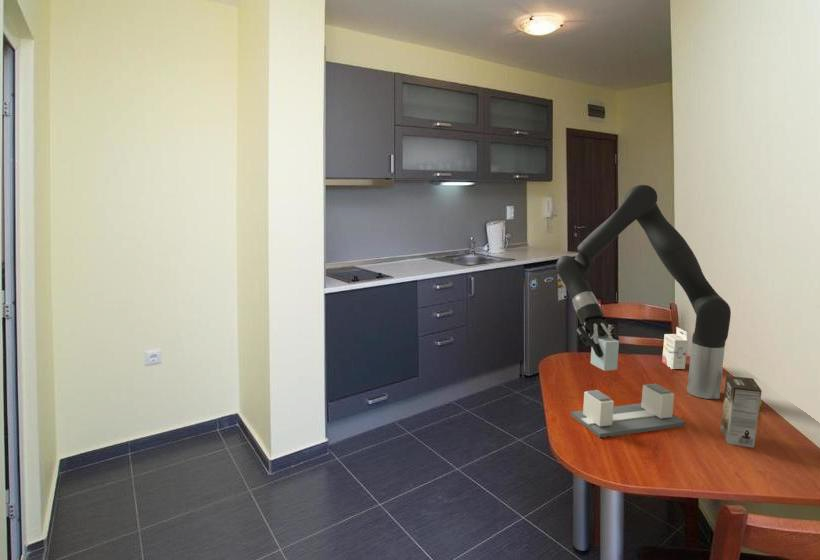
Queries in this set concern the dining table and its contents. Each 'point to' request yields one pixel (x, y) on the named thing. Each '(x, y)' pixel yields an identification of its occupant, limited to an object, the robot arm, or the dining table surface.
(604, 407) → the module
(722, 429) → the coffee box
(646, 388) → the module
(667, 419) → the mounting board
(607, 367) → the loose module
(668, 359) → the ink cartridge box
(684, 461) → the dining table surface
